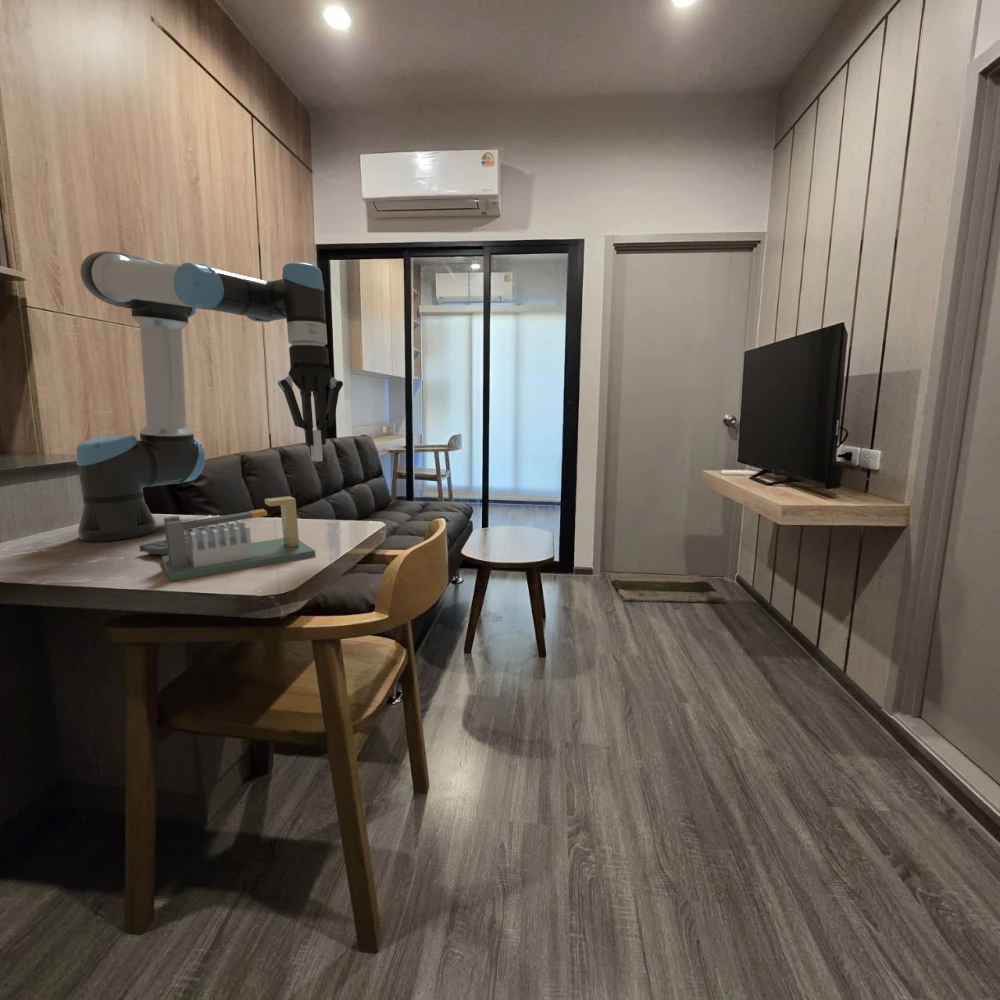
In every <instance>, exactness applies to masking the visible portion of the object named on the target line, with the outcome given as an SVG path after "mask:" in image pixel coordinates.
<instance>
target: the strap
mask: <svg viewBox="0 0 1000 1000" xmlns="http://www.w3.org/2000/svg"><path fill="white" fill-rule="evenodd" d="M265 516H269V514H268V511H267V510H266V509H264V508H260V509H254V510H248V511H245V512H238V513H232V514H225V515H221V516H214V517H207V518H203V519H196V520H189V521H185V522H183V528H184V531H185V530H186V529H196V528H197V527H203V526H208V525H212V526H213V525H216V524H220V523H221V524H226V522H236V521H237V520H240V521H243V520H246V519H254V518H261V517H265Z"/></svg>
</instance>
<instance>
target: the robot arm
mask: <svg viewBox="0 0 1000 1000" xmlns="http://www.w3.org/2000/svg"><path fill="white" fill-rule="evenodd" d="M79 272H80V277H81V281H82V283H83V285H84V287H85V288H86V289H87V291H88V292H89V293H91V294H92V296H94V297H96V298H97V299H98V300H100V301H102V302H104V303H106V304H108V305H112V306H115V307H119V308H124V309H130V312H131V319H132V320H134V321H135V323H137V324H138V326H139V330H140V333H139V334H140V346H141V362H142V363H141V364H142V375H143V390H144V391H143V392H144V404H145V407H144V408H145V409H144V410H145V423H146V424H145V426H144V427H143V428H142V429H141V430H140V431H139V440H138V439H137V437H136V436H135V435H131V434H129V435H115V436H106V437H99V438H94V439H90V440H89V439H88V440H84V441H82V442H80V443H78V445H77V446H76V450H75V451H76V463H75V464H76V465H77V469H78V475H79V476H78V477H79V482H80V489H81V492H82V493H81V496H82V501H83V509H82V512H81V513H82V514H81V517H80V521H79V525H78V529H77V532H78V539H79V540H80V541H81V542H95V543H96V542H113V541H123V540H126V539H127V540H128V539H133V538H139V537H144V536H147V535H149V534H153V533H155V532H156V531H157V524H156V523H157V522H156V520H155V518H154V516H153V514H152V512H151V511H150V508H149V507H148V505H147V503H146V502H145V501H146V500H145V498H144V490H143V489H144V488H149V487H157V486H165V485H173V484H175V485H179V484H182V483H186V482H191V481H193V480H195V479H197V478H198V476H199V475H201V473H202V472H203V470H204V467H205V463H206V455H205V454H206V453H205V449H204V448H203V444H202V443H201V441H200V440H198V439H197V438H195V437H194V435H195V434H194V432H193V431H192V430H191V428H189V427H188V426H187V414H186V413H187V411H186V394H185V393H186V391H185V374H184V356H183V355H184V351H183V350H184V349H183V333H182V332H183V329H185V327H187V326H188V325H189V318H192V317H193V316H194V315H195V314H196V313H197V309H199V310H209V311H214V312H215V311H216V312H221V313H228V314H233V315H237V316H244V317H247V318H248V319H249V320H251V321H252V322H257V323H258V322H259V323H260V322H261V323H262V322H264V323H269V322H274V321H279V320H285V319H286V327H287V328H286V329H287V339H288V340H287V341H288V343H289V344H290V345H291V346H290V347H288V348H289V349H288V352H289V363H290V365H289V366H290V368H289V371H288V376H286V377H285V378H283V379H280V380H278V381H277V385H278V386H279V388H280V389H281V390H282V392H283V393H284V396H285V399H286V403H287V406H288V409H289V412H290V415H291V418H292V420H293V423H294V426H295V427H297V428H300V429H303V430H304V438H305V444H306V446H310V456H311V457H310V458H311V462H323V458H324V457H323V446H325V445H326V443H327V440H326V438H327V437H326V429H327V428H330V427H333V426H334V424H335V418H336V413H337V407H338V399H339V394H340V391H341V389H342V387H343V386H344V382H343V381H342V380H338V379H337V378H335V377H333V374H332V372H331V370H330V360H329V359H330V358H329V349H328V348H327V347H326V345H328V334H327V333H328V332H327V320H326V308H325V307H326V304H325V287H324V280H323V273H322V270H321V269H320V268H319V267H318V266H316V265H313V264H310V263H307V262H306V263H305V262H290V263H289V262H288V263H286V264H284V266H283V267H282V274H281V277H282V278H281V279H276V280H269V281H268V280H262V279H258V278H256V277H255V278H254V277H251V276H245V275H242V274H238V273H233V272H229V271H226V270H222V269H217V268H213V267H210V266H209V265H206V264H205V265H204V264H199V263H192V262H184V263H182V264H175V263H174V264H173V263H166V262H160V261H156V260H152V259H147V258H143V257H138V256H134V255H130V254H125V253H122V252H117V251H109V250H108V251H107V250H104V251H96V252H93V253H90V254H89V255H87V256H86V257H85V258H84V260H83V261H82V262H81V265H80V270H79ZM293 385H295V386H296V387H297V389H298V390H299V393H300V397H301V409H302V411H301V410H300V407H299V404H298V402H297V401H298V400H297V397H296V395H295V392H294V389H293ZM328 385H329V386H328ZM327 386H328V387H329V388H330V389H329V392H328V398H327V402H326V411H325V401H324V400H325V399H324V396H325V393H324V391H325V389H326V387H327ZM312 396H313V404H314V405H313V406H314V418H313V406H312ZM301 412H302V413H301ZM313 419H315V427H316V429H313V428H314V420H313Z"/></svg>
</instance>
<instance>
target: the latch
mask: <svg viewBox="0 0 1000 1000" xmlns="http://www.w3.org/2000/svg"><path fill="white" fill-rule="evenodd" d="M296 500H297V499H296V498H294V497H293V496H290V495H289V496H287V495H286V496H279V497H270V498H268V497H267V498H264V504H265V505H267V506H269V507H277V506H280V512H281V513H280V515H281V526H282V527H281V529H282V538H283V540H284V544H285V545H287V546H288V547H295V546H299V541H300V539H299V527H298V515H297V501H296Z"/></svg>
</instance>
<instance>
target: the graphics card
mask: <svg viewBox="0 0 1000 1000" xmlns="http://www.w3.org/2000/svg"><path fill="white" fill-rule="evenodd" d="M213 527H214V528H215V529H216V526H213ZM202 528H203V529H204V530H205V531H206V526H203V527H202ZM216 530H217V529H216ZM194 533H195V534H196V532H194ZM206 533H207V531H206ZM184 536H185V541H186V534H184ZM196 539H197V535H196ZM185 545H186V542H185ZM139 552H145V553H147V554H152V555H153V554H154V555H155V554H156V555H160V556H168V549H167V541H166V538H165V539H162V540H157V541H152V542H149V543H145V544H140V545H139ZM186 553H187V551H186Z"/></svg>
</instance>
